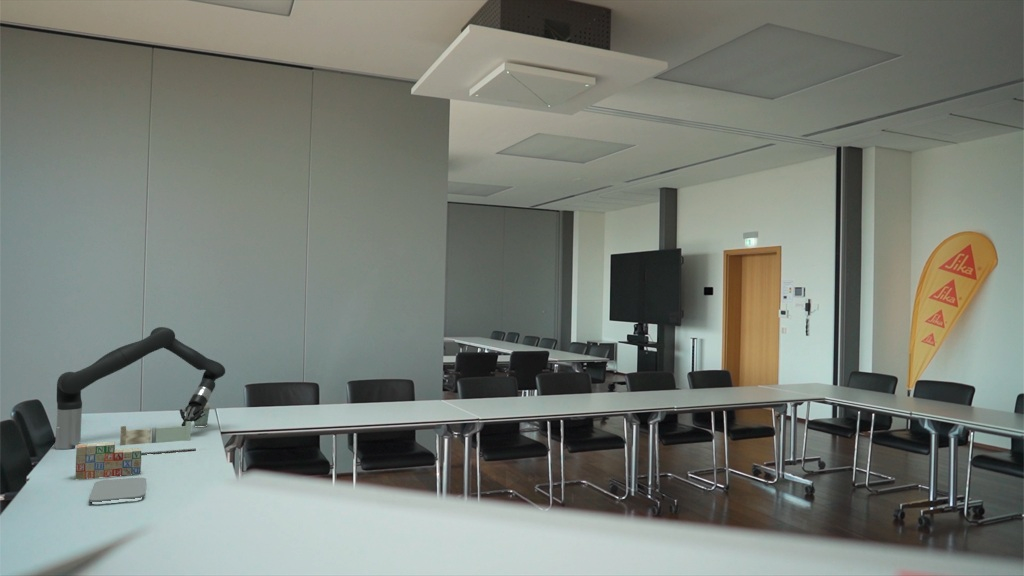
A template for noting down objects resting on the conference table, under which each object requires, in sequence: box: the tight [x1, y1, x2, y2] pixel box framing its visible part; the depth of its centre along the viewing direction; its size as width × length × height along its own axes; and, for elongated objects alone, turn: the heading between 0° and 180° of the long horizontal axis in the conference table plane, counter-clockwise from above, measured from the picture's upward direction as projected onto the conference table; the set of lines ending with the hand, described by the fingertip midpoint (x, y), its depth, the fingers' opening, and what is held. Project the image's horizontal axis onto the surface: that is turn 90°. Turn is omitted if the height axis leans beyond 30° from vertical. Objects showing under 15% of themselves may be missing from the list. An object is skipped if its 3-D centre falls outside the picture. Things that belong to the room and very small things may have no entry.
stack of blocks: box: [74, 441, 142, 480], centre depth 258 cm, size 21×6×12 cm, turn 117°
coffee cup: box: [193, 402, 211, 427], centre depth 358 cm, size 9×9×12 cm
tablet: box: [88, 476, 147, 502], centre depth 236 cm, size 16×26×2 cm, turn 27°
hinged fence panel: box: [150, 421, 192, 444], centre depth 314 cm, size 16×2×8 cm, turn 122°
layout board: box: [141, 448, 197, 456], centre depth 306 cm, size 30×27×1 cm
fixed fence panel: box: [119, 425, 152, 446], centre depth 307 cm, size 12×2×8 cm, turn 122°
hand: (183, 427), depth 321 cm, fingers closed
